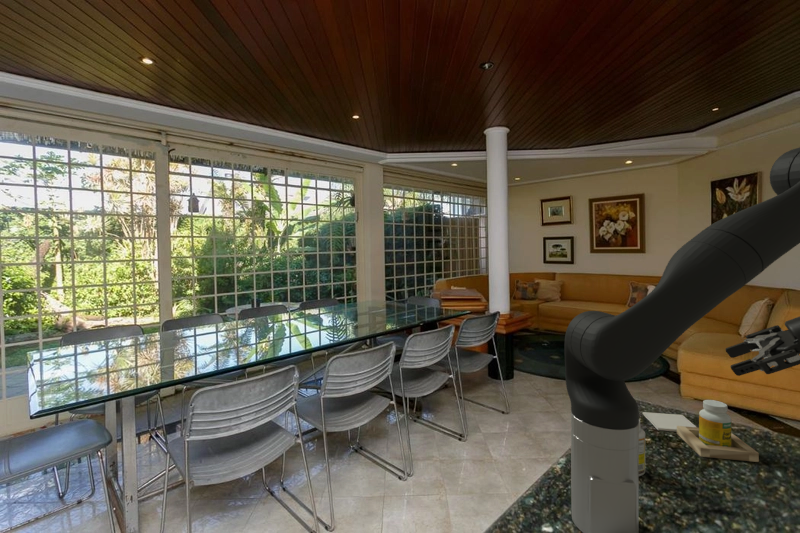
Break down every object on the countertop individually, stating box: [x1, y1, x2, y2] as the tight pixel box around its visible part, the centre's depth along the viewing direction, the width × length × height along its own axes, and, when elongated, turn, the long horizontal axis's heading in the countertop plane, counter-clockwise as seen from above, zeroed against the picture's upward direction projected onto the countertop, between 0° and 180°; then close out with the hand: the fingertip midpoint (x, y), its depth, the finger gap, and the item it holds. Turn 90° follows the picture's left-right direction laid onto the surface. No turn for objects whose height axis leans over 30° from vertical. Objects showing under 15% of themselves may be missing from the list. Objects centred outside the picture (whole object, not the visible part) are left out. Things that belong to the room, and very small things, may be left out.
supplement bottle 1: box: [639, 418, 646, 477], centre depth 72 cm, size 6×6×10 cm
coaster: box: [642, 411, 697, 433], centre depth 91 cm, size 9×9×1 cm
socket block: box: [676, 426, 760, 463], centre depth 80 cm, size 10×10×2 cm
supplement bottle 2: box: [698, 399, 732, 447], centre depth 80 cm, size 5×5×10 cm
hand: (730, 361), depth 79 cm, fingers open, 8 cm apart
